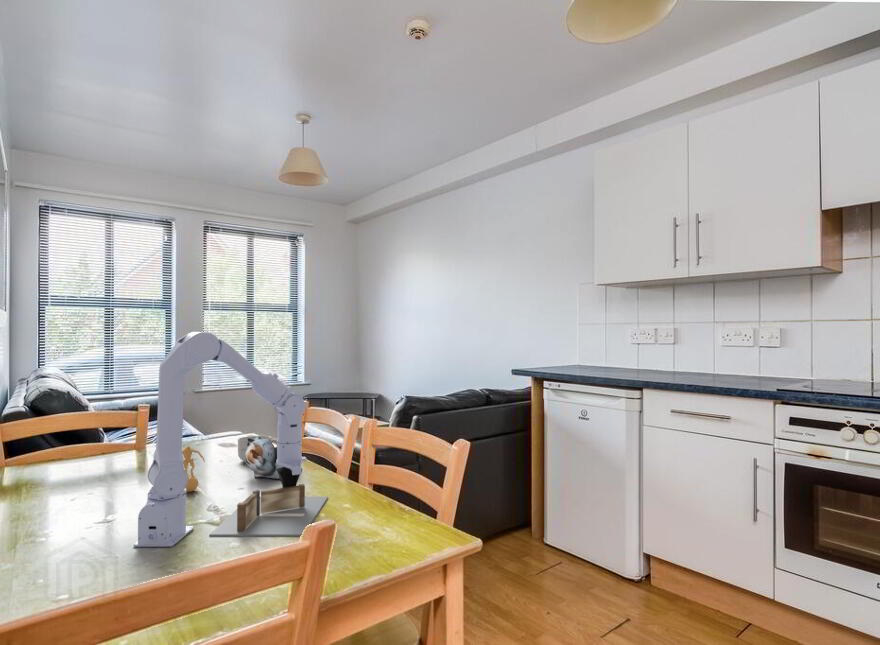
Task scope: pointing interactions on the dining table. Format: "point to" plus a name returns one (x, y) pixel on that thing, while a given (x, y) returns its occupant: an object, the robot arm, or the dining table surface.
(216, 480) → the dining table surface
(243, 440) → the teacup
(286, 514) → the card
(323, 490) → the dining table surface
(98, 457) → the dining table surface
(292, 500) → the post
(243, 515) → the fixed fence section
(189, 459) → the figurine
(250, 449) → the lucky cat figurine
